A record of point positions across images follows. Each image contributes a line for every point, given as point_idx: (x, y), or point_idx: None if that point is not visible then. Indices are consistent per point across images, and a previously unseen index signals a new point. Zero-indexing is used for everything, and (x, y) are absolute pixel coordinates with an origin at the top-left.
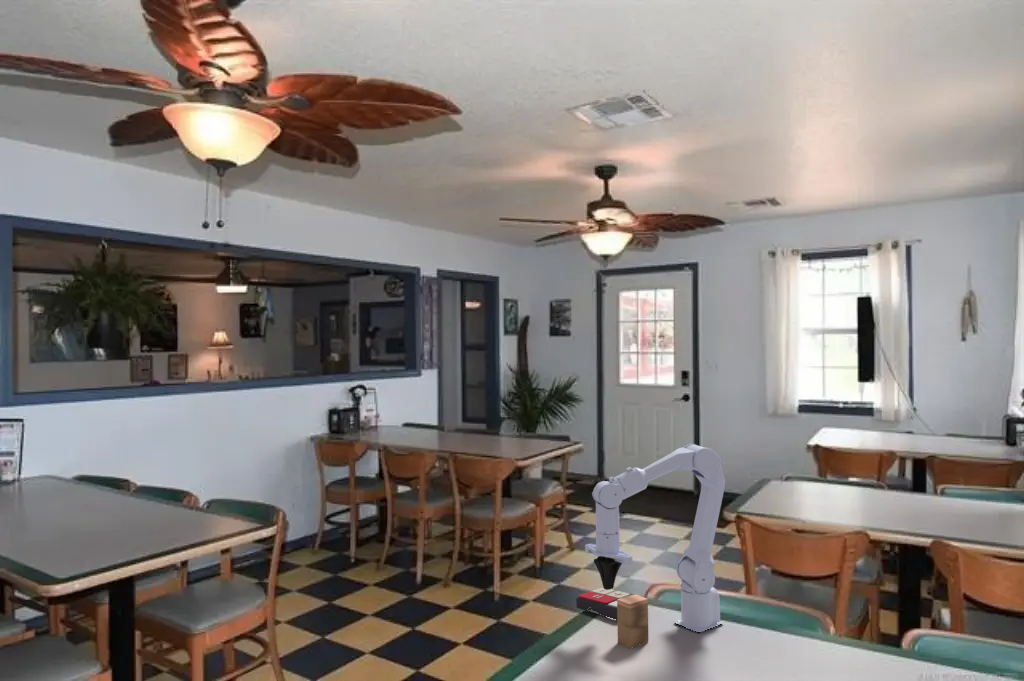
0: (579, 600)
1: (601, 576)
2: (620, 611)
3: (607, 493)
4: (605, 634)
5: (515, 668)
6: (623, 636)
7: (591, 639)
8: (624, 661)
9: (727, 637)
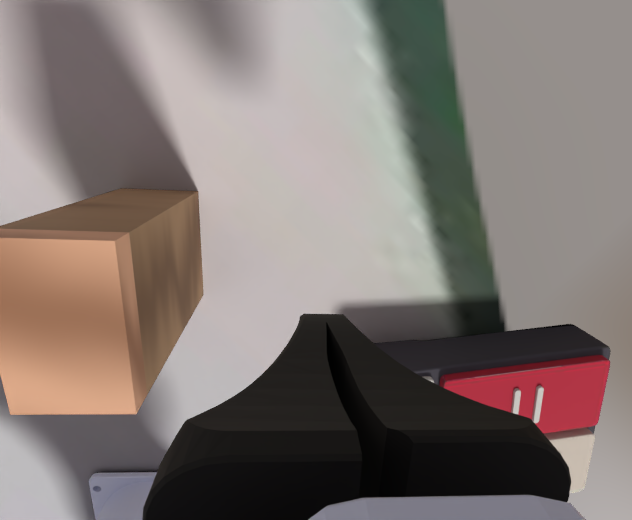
0: (583, 344)
1: (367, 352)
2: (115, 221)
3: None
4: (298, 216)
5: None
6: (147, 195)
7: (296, 126)
8: (16, 58)
9: (20, 512)
